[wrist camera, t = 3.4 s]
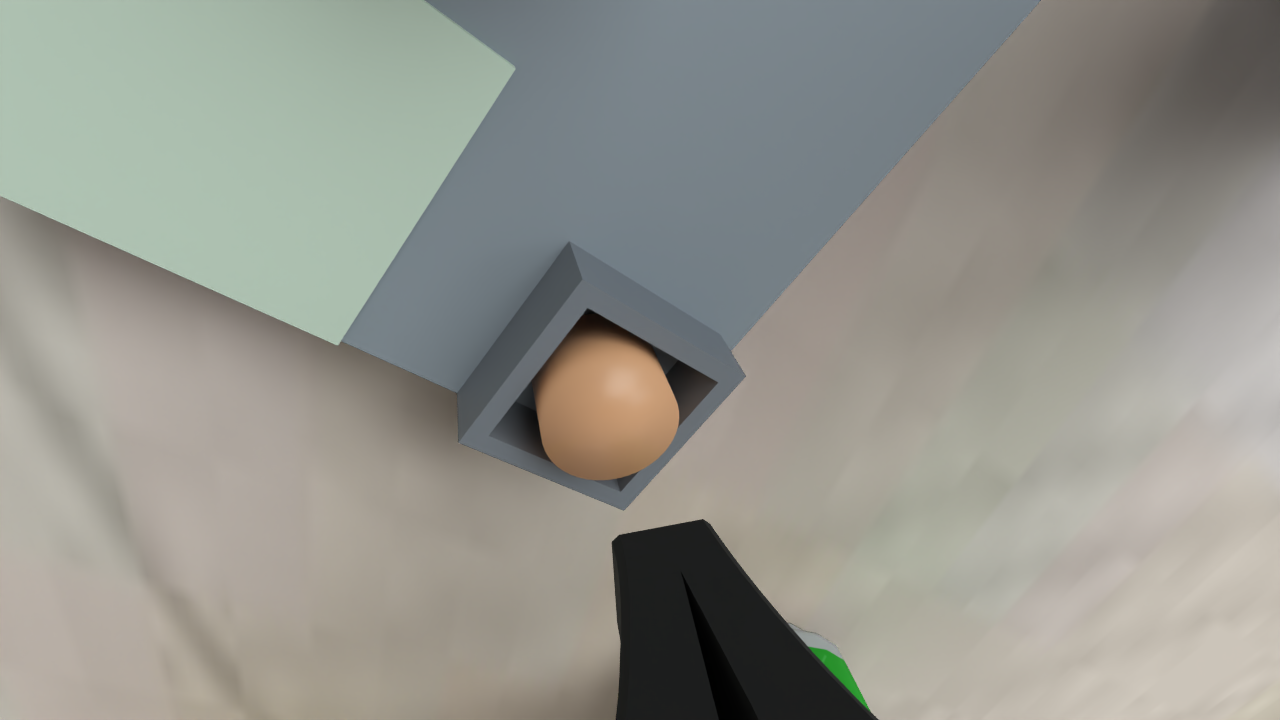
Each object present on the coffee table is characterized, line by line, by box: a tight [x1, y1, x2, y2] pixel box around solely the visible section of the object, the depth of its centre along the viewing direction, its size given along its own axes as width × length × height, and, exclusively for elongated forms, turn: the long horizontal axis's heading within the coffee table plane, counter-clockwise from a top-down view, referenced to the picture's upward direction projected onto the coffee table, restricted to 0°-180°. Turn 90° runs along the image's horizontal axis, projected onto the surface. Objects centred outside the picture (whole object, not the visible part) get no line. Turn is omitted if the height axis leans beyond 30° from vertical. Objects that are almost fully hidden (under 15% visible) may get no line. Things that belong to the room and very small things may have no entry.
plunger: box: [531, 313, 679, 480], centre depth 14 cm, size 3×3×2 cm
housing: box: [0, 0, 1041, 510], centre depth 12 cm, size 13×14×4 cm
